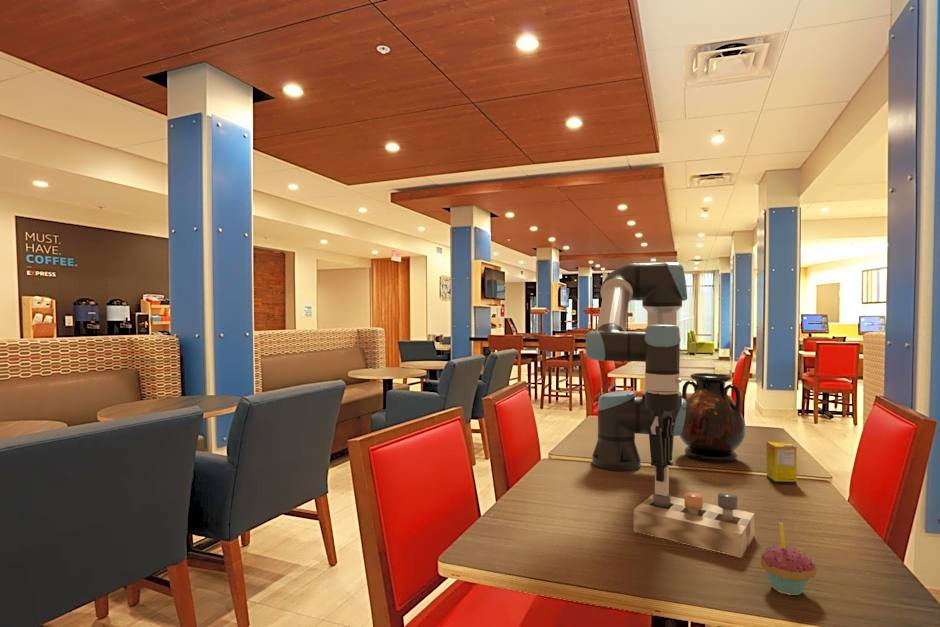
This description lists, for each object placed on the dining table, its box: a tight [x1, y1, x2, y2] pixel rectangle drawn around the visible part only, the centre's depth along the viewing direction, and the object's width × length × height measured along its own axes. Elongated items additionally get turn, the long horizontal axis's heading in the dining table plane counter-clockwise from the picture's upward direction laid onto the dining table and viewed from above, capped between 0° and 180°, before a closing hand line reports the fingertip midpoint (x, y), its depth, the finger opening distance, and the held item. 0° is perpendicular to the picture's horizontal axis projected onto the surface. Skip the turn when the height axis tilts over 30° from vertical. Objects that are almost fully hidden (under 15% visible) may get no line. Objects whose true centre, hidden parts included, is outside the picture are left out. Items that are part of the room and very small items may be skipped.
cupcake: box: [760, 517, 817, 594], centre depth 96 cm, size 9×8×12 cm
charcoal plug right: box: [717, 492, 739, 521], centre depth 116 cm, size 4×4×5 cm
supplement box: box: [766, 441, 798, 485], centre depth 158 cm, size 6×6×11 cm
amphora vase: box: [678, 372, 747, 463], centre depth 184 cm, size 22×22×28 cm
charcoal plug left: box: [652, 492, 671, 509], centre depth 125 cm, size 4×4×5 cm
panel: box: [633, 493, 755, 556], centre depth 121 cm, size 22×14×5 cm, turn 53°
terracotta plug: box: [683, 492, 704, 516], centre depth 121 cm, size 4×4×5 cm
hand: (661, 494), depth 125 cm, fingers closed
